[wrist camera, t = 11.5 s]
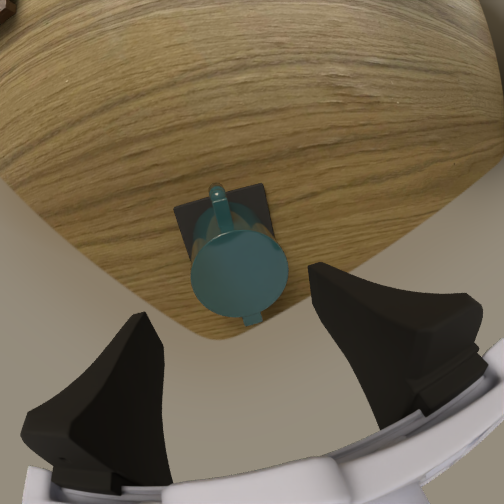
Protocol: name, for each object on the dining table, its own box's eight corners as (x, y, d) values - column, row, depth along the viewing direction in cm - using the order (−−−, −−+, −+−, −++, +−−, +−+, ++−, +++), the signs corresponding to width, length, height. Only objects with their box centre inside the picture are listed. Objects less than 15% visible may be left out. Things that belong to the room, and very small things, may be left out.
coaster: (199, 283, 22) (199, 287, 21) (173, 206, 19) (173, 208, 18) (278, 261, 22) (279, 264, 22) (261, 182, 19) (263, 183, 19)
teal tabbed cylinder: (207, 286, 21) (211, 336, 16) (175, 188, 18) (164, 211, 12) (272, 267, 22) (296, 312, 16) (250, 168, 18) (272, 182, 13)
